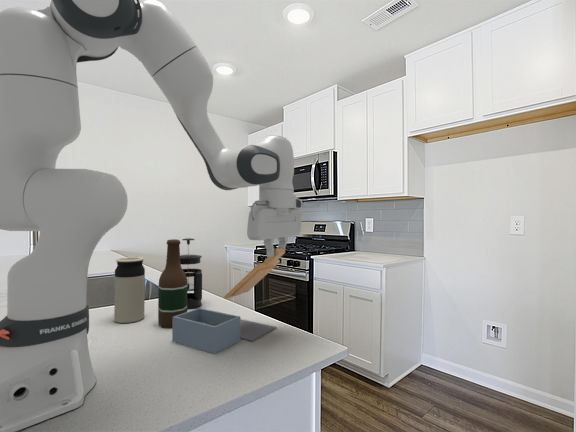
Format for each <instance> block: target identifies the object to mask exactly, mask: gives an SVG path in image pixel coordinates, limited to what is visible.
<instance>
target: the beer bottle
mask: <svg viewBox="0 0 576 432" xmlns="http://www.w3.org/2000/svg"><path fill="white" fill-rule="evenodd" d="M180 244H181V240H180V239H174V238H173V239H168V240H166V245H167V246H166V247H167V249H166V263H165V268H164V270H163V271H162V272H161V273H160V277H159V279H158V294H157V297H158V298H157V299H158V302H157V305H158V306H157V308H158V310H157V311H158V312H157V314H158V315H157V319H158V320H157V321H158V325H159V327H161V328H162V329H172V320H173V317H174V316H177V315H180V314H183V313H186V312H188V310H187V293H188V291H187V282H188V277H186V274H185V272H184V271H183V269H184V268H182V264H181V263H180V255H181V253H180V252H181V249H180Z"/></svg>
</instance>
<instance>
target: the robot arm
mask: <svg viewBox="0 0 576 432" xmlns="http://www.w3.org/2000/svg"><path fill="white" fill-rule="evenodd" d="M118 48H120V49H122V50H125V51H127V52H128V53H129V54H132V55H133V56H134V57H135V58H136V59H137V60H138V62H141V64H142V65H143V67H144V68H145V70H146V71H147V73H148V75H150V77H151V78H152V79H153V81H154V82H155V84H156V85H157V86H158V88H159V89H160V90H161V92H162V94H163V95H164V96H165V98H166V99H167V102H168V103H169V104H170V106H171V108H172V110H173V112H174V114H175V115H176V118H177V120H178V121H179V124H180V125H181V126H182V128H183V130H184V132H185V133H186V134H187V136H188V137H189V139H190V140H191V142H192V144H193V145H194V147H195V148H196V150H197V151H198V153H199V154H200V156H201V158H202V159H203V162H204V164H205V167H206V170H207V174H208V177H209V179H210V181H211V182H212V183H213V185H215V186H216V187H217V188H219V189H221V190H224V191H233V190H237V189H241V188H249V187H257V186H258V188H259V189H258V192H259V193H258V200H255V201H254V202H253V203H252V204H251V206H250V211H249V214H248V218H247V219H248V220H247V227H246V228H247V229H246V235H247V238H248V240H250V241H263V245H264V248H265V250H266V257H267V258H268V257H273V256H275V255H276V249H280V248H283V250H284V251H285V253H286V247H287V244H288V238H289V237H296V236H299V235H300V233H301V230H302V211H301V209H302V208H303V200H301V199H300V198H298V197H297V196H296V195H295V194H294V193H295V191H294V190H295V188H294V185H293V179H294V178H293V177H294V174H295V158H294V150H293V145H292V143H291V141H290V140H289V139H288V138H286V137H283V136H281V135H274V134H271V135H270V134H269V135H265V136H264V137H262V139H260V140H258V141H256V142H252V143H250V144H246V145H242V146H239V147H236V148H232V149H231V148H228V147H227V146H226V145H225V144H224V143H223V141H222V140H221V138H220V135H219V134H218V132H217V131H216V129H215V127H214V125H213V124H212V122H211V121H210V119H209V115H208V103H209V99H210V97H211V94H212V92H213V89H214V88H213V87H214V76H213V75H214V74H213V72H212V70H211V67H210V65H209V63H208V61H207V60H206V57H205V56H204V54H203V53H202V50H200V49H199V47H198V46H197V44H196V43H195V40H194V39H193V38H192V37H191V35H190V33H188V31H187V30H186V28H185V27H184V26H183V25H182V24H181V22H180V21H179V19H178V18H177V17H176V16H175V15H174V13H172V12H171V11H170V9H169V8H168V7H167V6H166V5H165V4H164V3H163V2H161V1H159V0H136V1H135V0H51V1H50V4H49V6H47V7H46V8H44V9H37V10H36V9H32V8H28V7H9V8H6V9H5V8H4V9H3V10H1V11H0V230H4V231H9V232H39V235H38V240H37V243H36V244H35V247H34V249H33V250H32V251H31V252H30V254H28V255H26V256H25V257H23V258H20V259H19V260H18V261H16V262H15V263H14V264H12V266H11V267H10V269H9V270H8V273H7V289H6V293H7V294H6V295H7V298H6V299H7V301H6V302H7V305H6V308H7V309H6V312H7V313H6V315H5V317H3V319H1V320H0V432H18V431H20V430H24V429H26V428H28V427H32V426H33V425H36V424H39V423H42V422H43V421H46V420H47V421H48V420H49V419H51V418H54V417H55V418H56V417H57V416H60V415H62V414H65V413H67V412H68V413H69V412H70V411H72V410H75V409H77V408H79V407H81V406H82V405H83V403H84V401H85V397H86V395H87V394H88V393H89V392H90V391H91V390H92V389H93V388H94V387H95V384H96V382H97V378H96V374H95V371H94V368H93V366H92V361H91V355H90V350H89V348H90V347H89V342H88V334H89V331H90V306H89V305H88V304H87V289H88V273H89V267H90V261H91V258H92V256H93V254H94V251H95V249H96V247H97V245H98V244H99V242H100V241H101V239H102V238H103V237H104V236H105V235H106V234H107V233H108V232H109V231H110V230H111V229H113V228H115V226H118V224H119V223H120V222H121V221H122V220H123V218H124V217H125V214H126V212H127V209H128V201H129V200H128V194H127V191H126V188H125V186H124V185H123V183H122V182H121V180H120V179H119V178H118V177H117V176H115V175H113V174H111V173H107V172H102V171H98V170H92V169H88V168H56V167H57V166H56V165H57V159H58V157H59V154H60V153H61V152H62V150H63V149H64V148H66V146H68V145H71V144H72V143H73V142H75V141H76V140H77V139H78V138H79V136H80V135H81V130H82V126H81V125H82V123H81V122H82V121H81V112H80V100H79V97H80V96H79V89H78V87H79V86H78V77H77V64H78V63H84V62H86V63H87V62H95V61H103V60H106V59H108V58H110V57H112V55H114V54H115V53H116V51H118ZM275 239H277V240H278V244H277V247H276V249H275V247H274V242H275ZM285 253H284V254H283V255H285Z"/></svg>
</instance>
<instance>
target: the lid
mask: <svg viewBox="0 0 576 432" xmlns="http://www.w3.org/2000/svg"><path fill="white" fill-rule="evenodd" d="M284 253H286V250H285V251H284V250H283V248H280V249H276V255H275V256H273V257H268V256H267V257H266V258H265V259H264V261H263V263H258V264H256V265H255V266H254V268H252V269H251V270H250V271H249V272H248V273H247V274H246V275H245V276H244V277H243V278H242V279H241V280H240V281H239V282H238V283H237V284H236V285H234V287H233V288H232V289H230V290H229V292H227V293H226V294H225V295H224V296H223V297H224V299H225V300H229V299H230V298H234V297H236V296H239V295H242V294H245V293H248V292H250V291H251V290H252V289H253V288H254V287H255V286H256V285H257V284H258V283H259V282H260V281H261V280H263V279H264V278H265V277H266V276H267V275H268V274H269V273H270V272H271V271H272V270H274V268H275V267H277V266H278V264H280V263H281V261H280V258H281V257H283V255H285V254H284Z"/></svg>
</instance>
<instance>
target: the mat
mask: <svg viewBox="0 0 576 432" xmlns="http://www.w3.org/2000/svg"><path fill="white" fill-rule="evenodd" d="M276 329H277V326H273V325H270V324H264V323H259V322H255V321H250V320H246V319H242V318H240V340H243V341H247V342H252V343H253V342H255V341H257V340H259V339H260V338H262V337H264V336H266V335H268V334H269V333H272V332H273V331H275V330H276Z"/></svg>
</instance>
